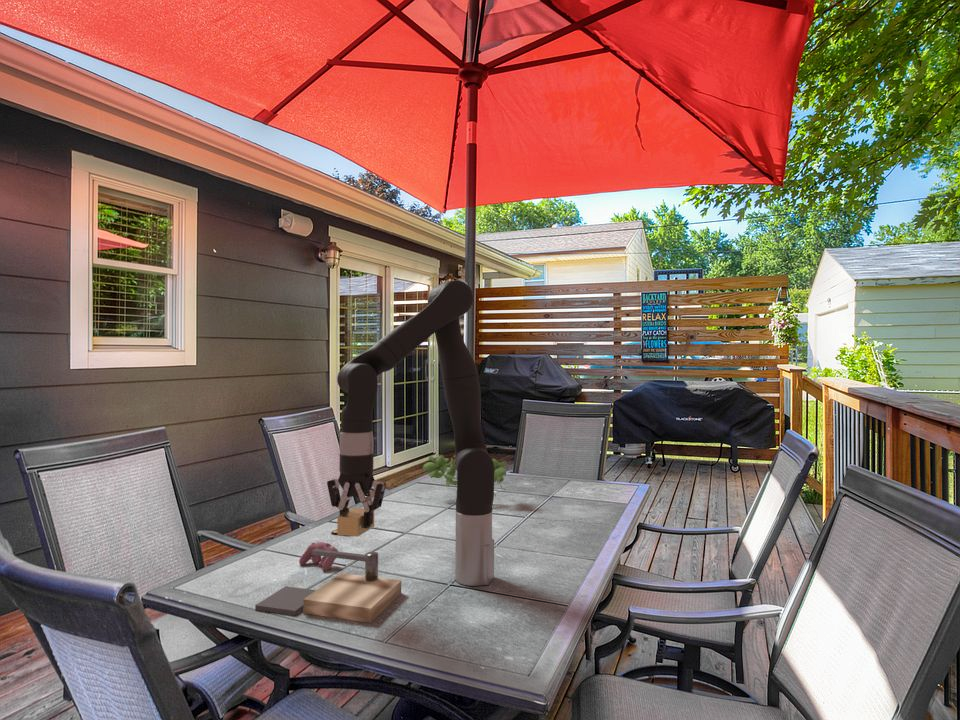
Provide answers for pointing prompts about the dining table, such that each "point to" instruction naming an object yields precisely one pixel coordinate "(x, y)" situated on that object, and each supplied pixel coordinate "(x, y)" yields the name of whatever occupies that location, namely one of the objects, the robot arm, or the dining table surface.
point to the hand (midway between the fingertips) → (356, 526)
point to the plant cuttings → (442, 466)
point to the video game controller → (316, 559)
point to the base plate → (352, 597)
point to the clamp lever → (368, 558)
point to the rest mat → (285, 601)
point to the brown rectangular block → (352, 522)
